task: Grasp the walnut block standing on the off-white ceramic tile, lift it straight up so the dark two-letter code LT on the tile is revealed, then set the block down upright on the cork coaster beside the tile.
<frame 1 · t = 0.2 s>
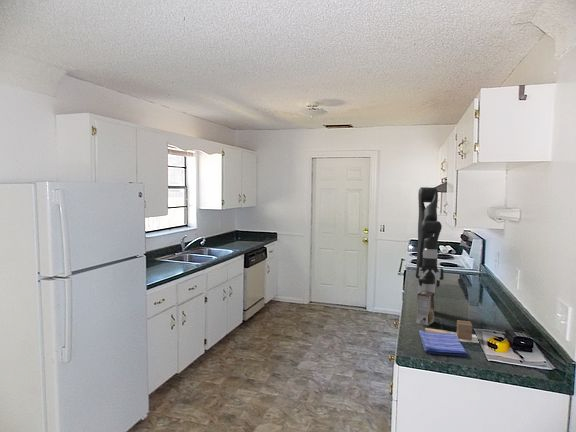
hand: (429, 286, 213), 18 cm above the countertop, tool pointing down, fingers open, 8 cm apart
walnut block: (463, 337, 186), resting on code tile
code tile: (463, 337, 186), on the countertop
coaster: (437, 333, 191), on the countertop
dish towel: (441, 345, 175), on the countertop, touching coaster
coffee box: (425, 323, 207), on the countertop
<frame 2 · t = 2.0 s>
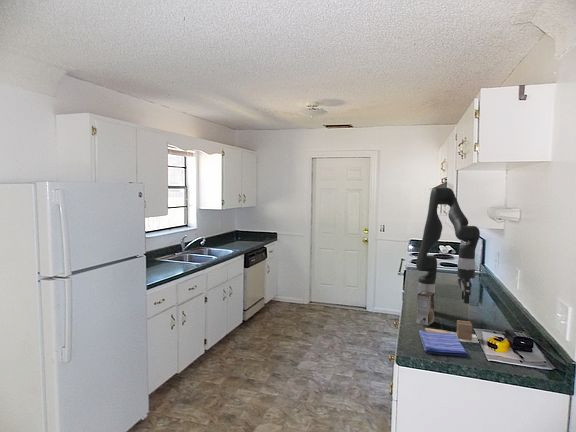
hand: (465, 301, 185), 18 cm above the countertop, tool pointing down, fingers open, 8 cm apart
nothing on the countertop moved.
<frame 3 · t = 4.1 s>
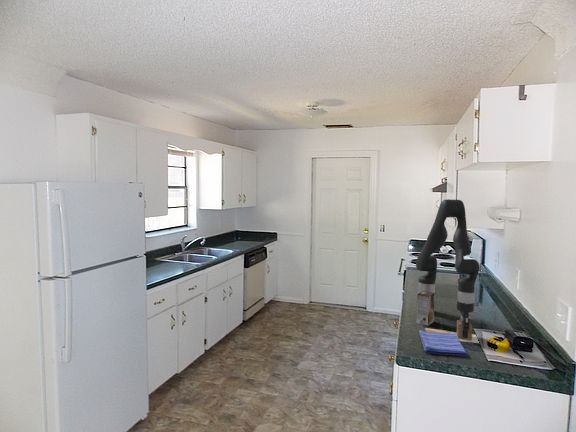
hand: (464, 335, 186), 1 cm above the countertop, tool pointing down, fingers closed on walnut block, 6 cm apart
walnut block: (463, 337, 186), resting on code tile, touching gripper
everything else where it was.
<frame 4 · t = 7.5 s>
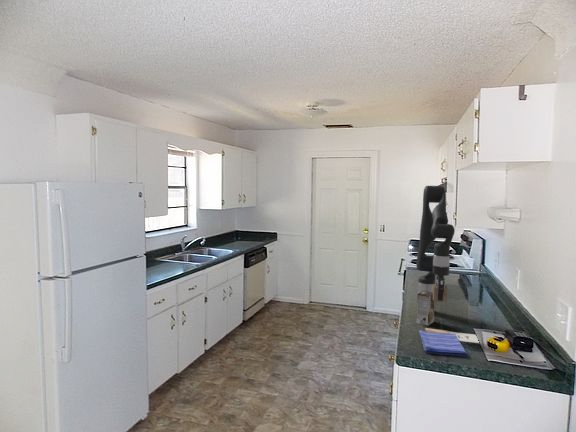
hand: (439, 298, 190), 17 cm above the countertop, tool pointing down, fingers closed on walnut block, 6 cm apart
walnut block: (439, 300, 190), point 16 cm above the countertop, touching gripper
everything else where it was.
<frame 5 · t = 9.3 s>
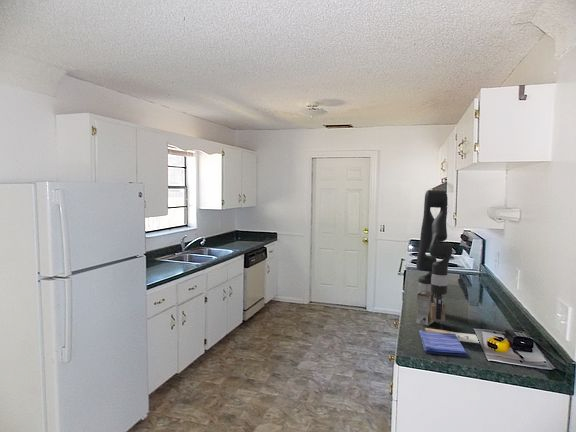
hand: (437, 317, 190), 8 cm above the countertop, tool pointing down, fingers closed on walnut block, 6 cm apart
walnut block: (437, 319, 190), point 7 cm above the countertop, touching gripper
everything else where it was.
when the fingers open (3 cm above the countertop, at t = 10.9 s): walnut block drops 1 cm, resting on coaster.
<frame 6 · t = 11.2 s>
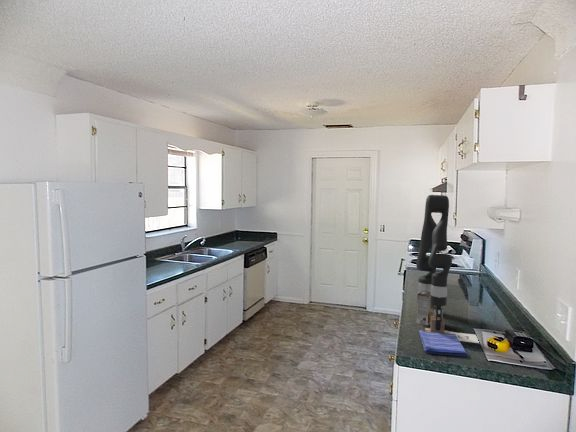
hand: (437, 327, 190), 3 cm above the countertop, tool pointing down, fingers open, 8 cm apart
walnut block: (437, 332, 191), point 1 cm above the countertop, touching coaster
everything else where it was.
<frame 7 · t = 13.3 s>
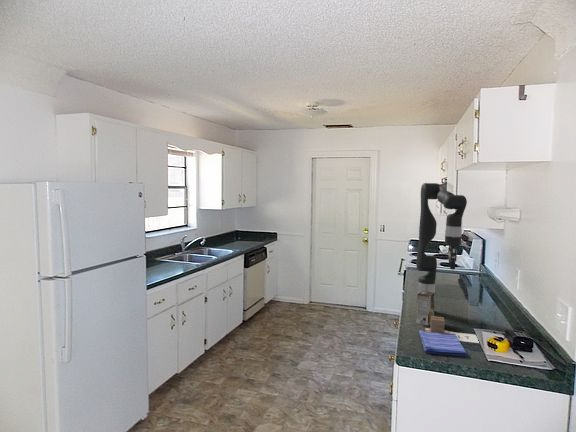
hand: (451, 267, 193), 32 cm above the countertop, tool pointing down, fingers open, 8 cm apart
nothing on the countertop moved.
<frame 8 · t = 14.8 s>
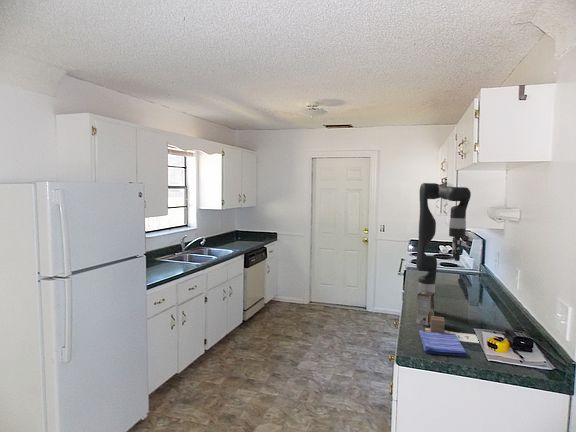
hand: (456, 259, 194), 36 cm above the countertop, tool pointing down, fingers open, 8 cm apart
nothing on the countertop moved.
at the end: walnut block 0.1 cm from the coaster (horizontally); walnut block tilted 0°; walnut block touching coaster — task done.
